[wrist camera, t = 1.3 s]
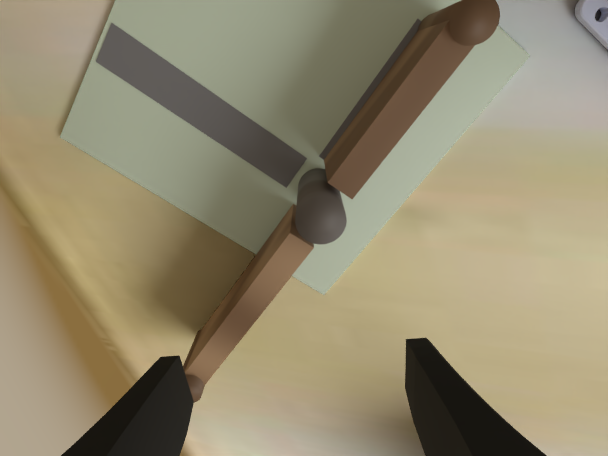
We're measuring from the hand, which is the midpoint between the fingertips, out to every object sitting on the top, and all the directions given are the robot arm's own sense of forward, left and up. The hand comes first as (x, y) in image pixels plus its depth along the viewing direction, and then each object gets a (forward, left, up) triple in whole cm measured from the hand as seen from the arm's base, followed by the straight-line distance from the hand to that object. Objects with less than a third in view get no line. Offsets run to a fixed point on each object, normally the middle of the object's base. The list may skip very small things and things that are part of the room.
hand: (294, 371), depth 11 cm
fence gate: (+1, +3, -8) cm, 9 cm away
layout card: (+5, -6, -9) cm, 12 cm away
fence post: (+1, -7, -9) cm, 12 cm away
